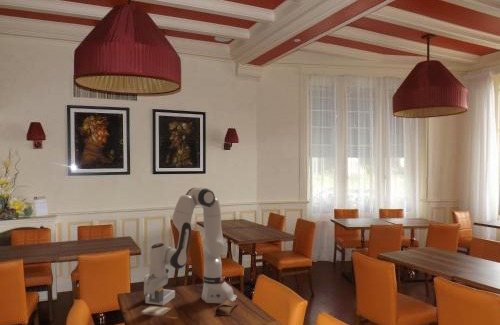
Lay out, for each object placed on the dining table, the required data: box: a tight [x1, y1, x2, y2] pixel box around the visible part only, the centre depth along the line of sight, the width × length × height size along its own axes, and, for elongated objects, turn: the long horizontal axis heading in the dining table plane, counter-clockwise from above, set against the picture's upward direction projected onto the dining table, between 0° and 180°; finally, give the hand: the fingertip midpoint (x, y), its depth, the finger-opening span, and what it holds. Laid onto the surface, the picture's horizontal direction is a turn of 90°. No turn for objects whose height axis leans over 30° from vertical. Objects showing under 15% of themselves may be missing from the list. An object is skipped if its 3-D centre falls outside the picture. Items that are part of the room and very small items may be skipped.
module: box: [149, 287, 164, 303], centre depth 224 cm, size 6×5×7 cm
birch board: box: [140, 304, 172, 317], centre depth 224 cm, size 14×10×1 cm
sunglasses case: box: [215, 298, 239, 316], centre depth 229 cm, size 18×7×7 cm, turn 166°
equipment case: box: [143, 273, 176, 306], centre depth 240 cm, size 13×15×17 cm
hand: (156, 296), depth 224 cm, fingers closed on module, 5 cm apart
